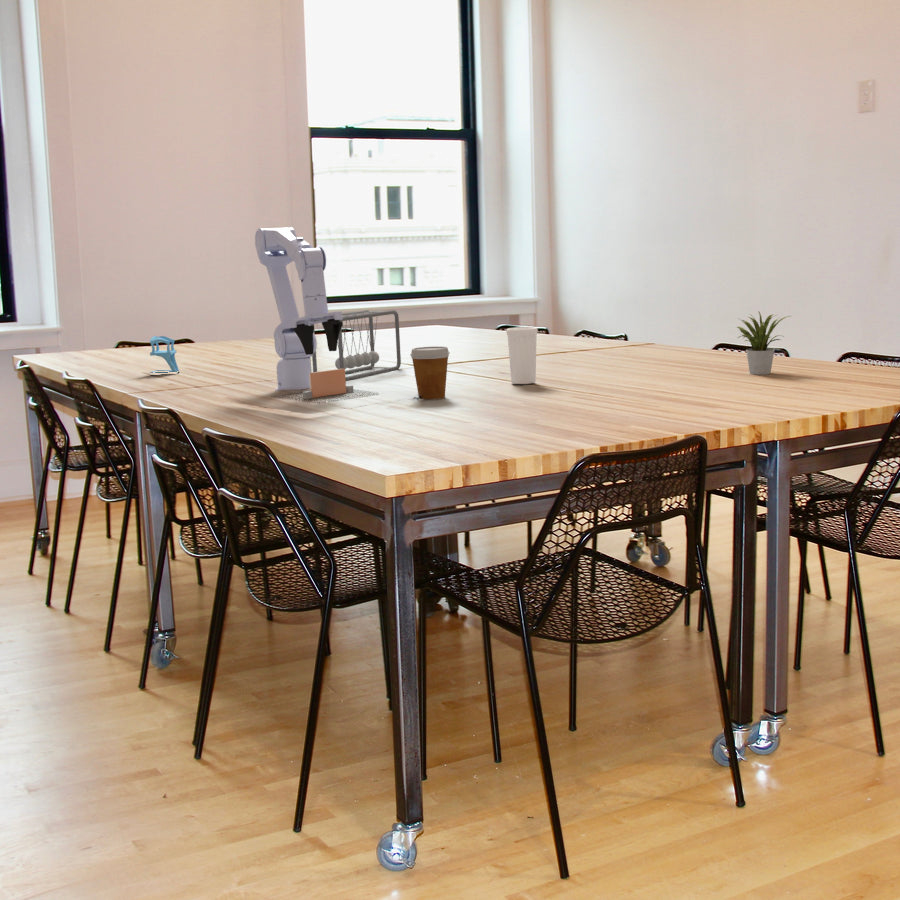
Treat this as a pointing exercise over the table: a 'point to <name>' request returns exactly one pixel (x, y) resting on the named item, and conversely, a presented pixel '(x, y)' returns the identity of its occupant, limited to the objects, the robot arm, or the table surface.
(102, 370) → the table surface
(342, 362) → the newton's cradle
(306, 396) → the board
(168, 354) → the chair
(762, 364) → the house plant
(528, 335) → the cup
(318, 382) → the tile
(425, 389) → the disposable coffee cup
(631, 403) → the table surface
